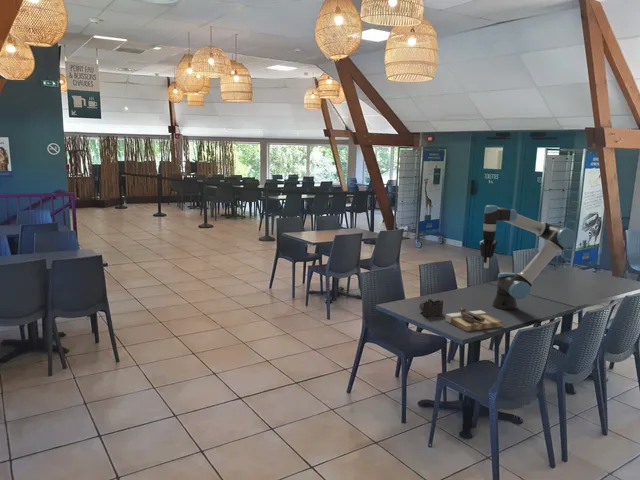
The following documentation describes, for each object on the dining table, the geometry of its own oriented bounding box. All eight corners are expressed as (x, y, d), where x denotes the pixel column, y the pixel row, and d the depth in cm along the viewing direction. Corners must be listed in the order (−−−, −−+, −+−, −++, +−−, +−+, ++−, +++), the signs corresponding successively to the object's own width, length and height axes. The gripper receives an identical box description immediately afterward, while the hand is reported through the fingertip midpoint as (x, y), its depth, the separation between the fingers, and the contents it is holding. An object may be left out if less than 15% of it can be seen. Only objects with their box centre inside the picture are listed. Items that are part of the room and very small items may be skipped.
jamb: (480, 316, 314) (481, 307, 313) (485, 318, 309) (486, 309, 308) (445, 320, 304) (446, 311, 303) (450, 323, 299) (451, 313, 298)
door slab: (485, 318, 309) (486, 314, 309) (502, 326, 296) (502, 321, 296) (450, 323, 299) (451, 318, 299) (465, 331, 286) (466, 326, 286)
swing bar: (457, 312, 305) (458, 308, 305) (462, 311, 307) (462, 307, 306) (480, 322, 289) (480, 317, 289) (484, 321, 291) (485, 316, 290)
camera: (431, 309, 324) (432, 294, 322) (444, 314, 315) (445, 299, 313) (414, 312, 317) (415, 297, 315) (426, 317, 308) (428, 302, 306)
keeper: (464, 318, 299) (465, 312, 298) (473, 323, 292) (474, 317, 291) (462, 318, 298) (462, 313, 298) (471, 323, 291) (471, 317, 290)
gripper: (493, 229, 318) (490, 265, 322) (476, 229, 313) (473, 267, 317) (501, 231, 311) (498, 268, 315) (485, 231, 306) (481, 269, 310)
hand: (486, 267), depth 316 cm, fingers closed
